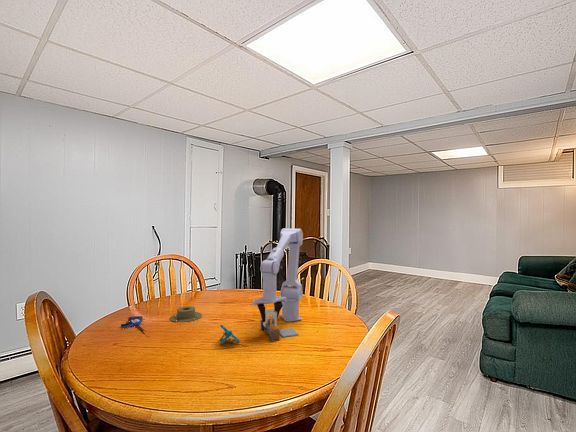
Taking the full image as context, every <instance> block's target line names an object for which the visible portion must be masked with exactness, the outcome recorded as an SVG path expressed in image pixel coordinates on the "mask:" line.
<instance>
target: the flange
mask: <svg viewBox="0 0 576 432" xmlns="http://www.w3.org/2000/svg"><path fill="white" fill-rule="evenodd" d="M175 315H177V316H175ZM202 317H203V314H202V313H201V312H197V311H196V306H195V307H194V306H193V305H192V306H190V305H187V306H182V307H181V306H180V307H179V308H177V309H176V313H175V314H172V315H171V316H170V317H169V321H170V320H171V322H172V321H174V322H173V323H176V322H187V323H192V322H191V321H193V322H196V321H198V319H199V320H201V318H202ZM194 318H195V319H194ZM176 320H178V321H176ZM195 320H196V321H195Z"/></svg>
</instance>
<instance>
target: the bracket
mask: <svg viewBox="0 0 576 432" xmlns="http://www.w3.org/2000/svg"><path fill="white" fill-rule="evenodd" d="M269 316H271V325H272V326H274V327H276V328H277V327H278V320H277V311H276V310H275V309H274V308H269V309H265V322H263V325H264V327H265V328H268V319H269Z"/></svg>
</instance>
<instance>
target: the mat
mask: <svg viewBox="0 0 576 432" xmlns="http://www.w3.org/2000/svg"><path fill="white" fill-rule="evenodd" d="M279 330H280V337H282V339H283V338H284V339H285V338H292V337H296V336H299V333H298V332H297V331H296V330H295V329H294V328H292V327H291V328H285V329H279Z"/></svg>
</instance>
